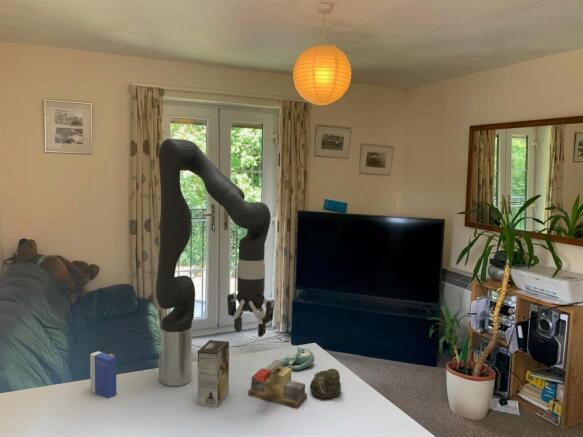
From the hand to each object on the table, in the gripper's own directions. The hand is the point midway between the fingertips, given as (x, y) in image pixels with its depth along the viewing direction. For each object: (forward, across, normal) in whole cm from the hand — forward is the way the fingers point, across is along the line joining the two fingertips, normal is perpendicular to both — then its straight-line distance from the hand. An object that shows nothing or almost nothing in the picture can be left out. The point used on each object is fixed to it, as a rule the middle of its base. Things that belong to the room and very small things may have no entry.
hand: (249, 333), depth 124 cm
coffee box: (+22, -11, 0) cm, 25 cm away
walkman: (+22, -42, -14) cm, 49 cm away
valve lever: (+13, +5, +4) cm, 15 cm away
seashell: (+22, +15, +20) cm, 33 cm away
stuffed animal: (+22, 0, +32) cm, 39 cm away
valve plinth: (+22, +5, +9) cm, 24 cm away
